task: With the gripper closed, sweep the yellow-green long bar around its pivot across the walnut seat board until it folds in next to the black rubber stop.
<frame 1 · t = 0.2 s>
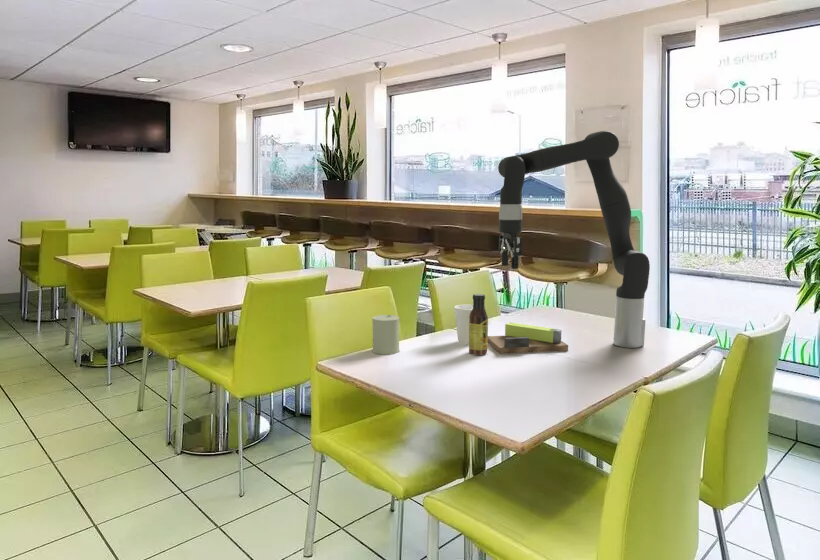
hand: (509, 267, 190), 29 cm above the table, fingers open, 8 cm apart
sauce bottle: (477, 353, 190), on the table
foam cup: (467, 343, 204), on the table
can: (385, 351, 193), on the table
seat board: (525, 346, 199), on the table
yellow-green long bar: (533, 332, 201), point 4 cm above the table, hinge at -45.0°
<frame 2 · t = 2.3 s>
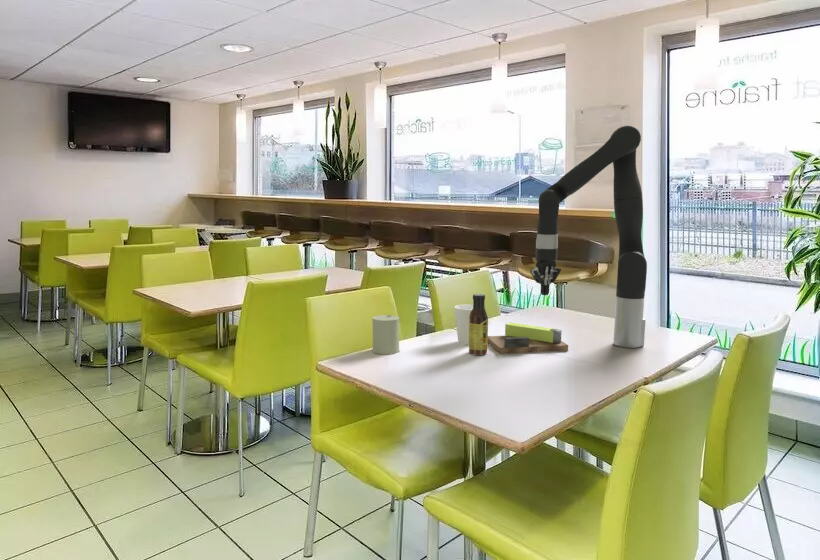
hand: (544, 294, 205), 17 cm above the table, fingers closed
nothing on the table moved.
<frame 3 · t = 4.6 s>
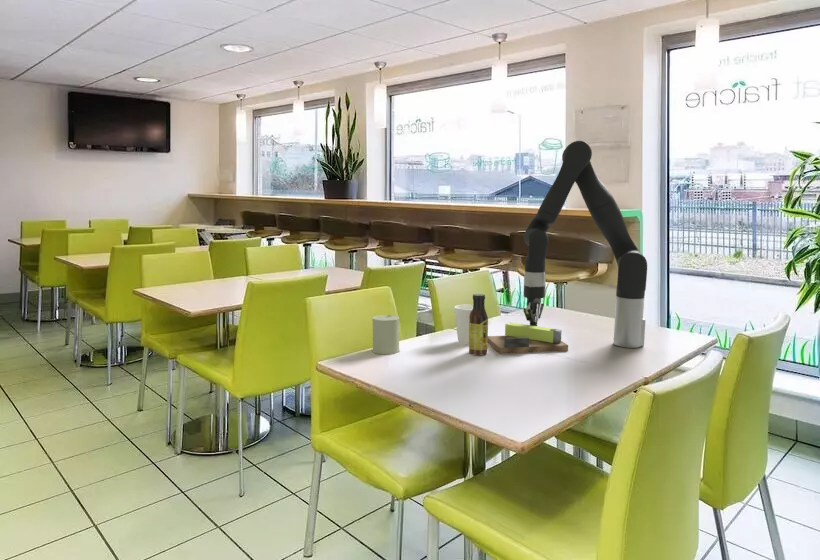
hand: (533, 331, 205), 4 cm above the table, fingers closed
yellow-green long bar: (533, 332, 201), point 4 cm above the table, hinge at -44.9°, touching gripper
everything else where it was.
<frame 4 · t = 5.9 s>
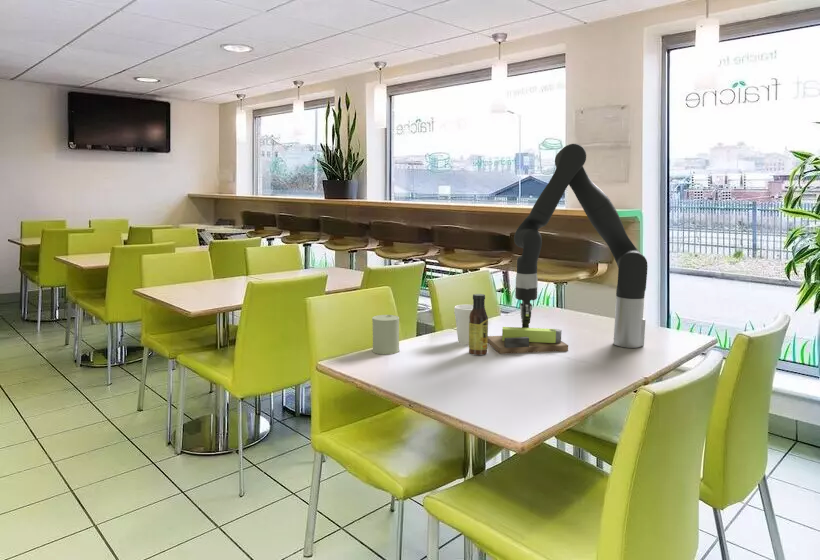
hand: (525, 333, 202), 4 cm above the table, fingers closed
yellow-green long bar: (531, 334, 198), point 4 cm above the table, hinge at -19.6°, touching gripper
everything else where it was.
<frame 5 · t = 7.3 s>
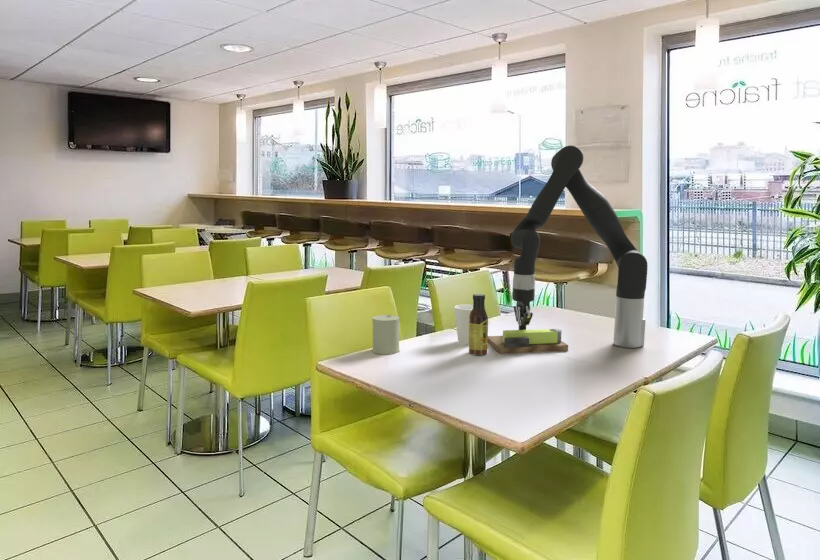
hand: (522, 335, 200), 4 cm above the table, fingers closed
yellow-green long bar: (532, 336, 195), point 4 cm above the table, hinge at -2.0°
everything else where it was.
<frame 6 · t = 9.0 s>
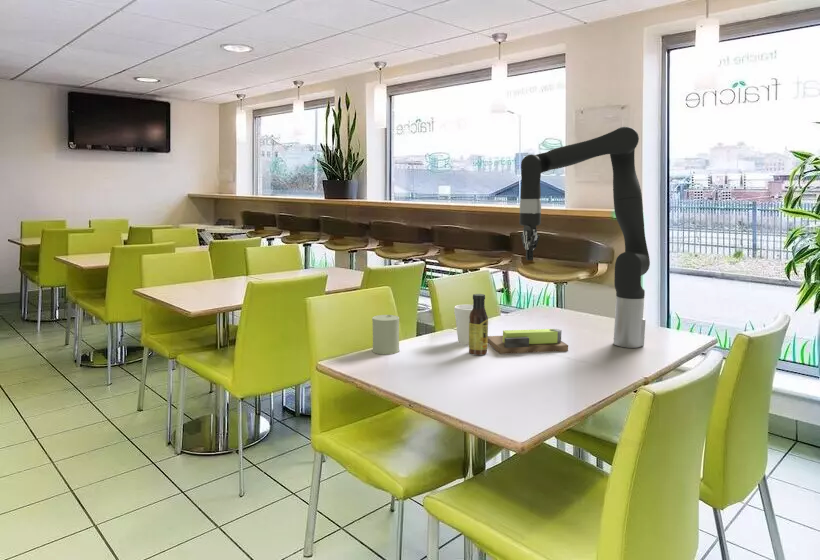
hand: (529, 260, 206), 29 cm above the table, fingers closed
nothing on the table moved.
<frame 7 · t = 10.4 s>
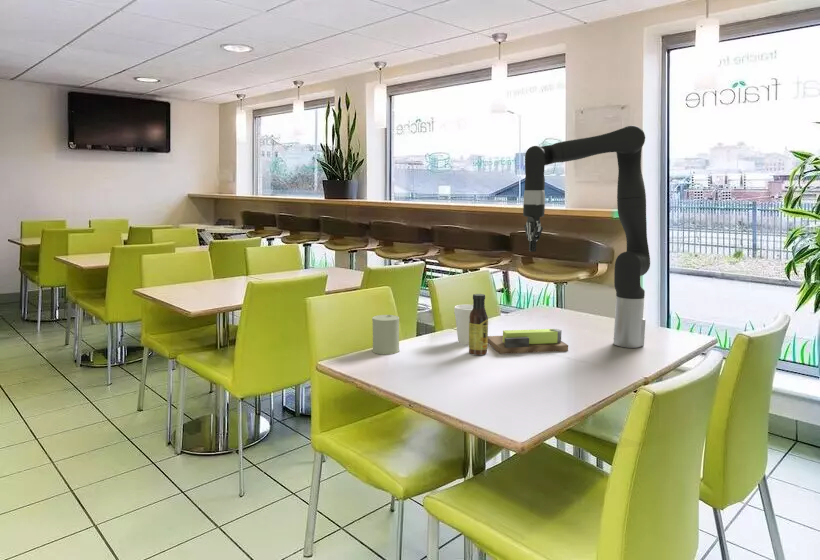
hand: (532, 251, 207), 32 cm above the table, fingers closed
nothing on the table moved.
at the end: yellow-green long bar at -2° (first picture: -45°) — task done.
